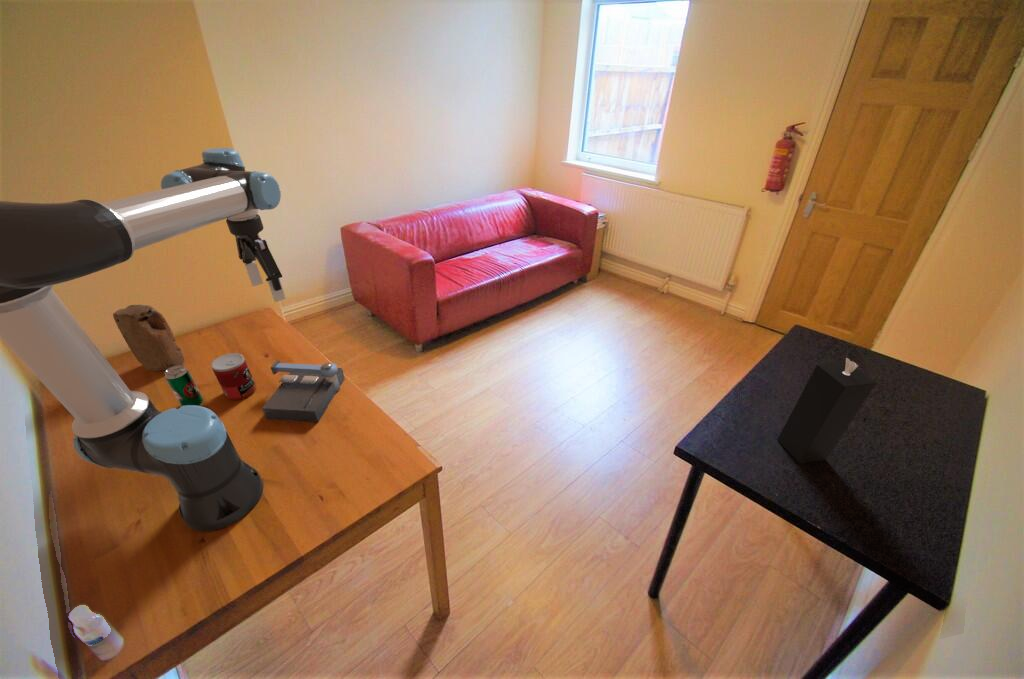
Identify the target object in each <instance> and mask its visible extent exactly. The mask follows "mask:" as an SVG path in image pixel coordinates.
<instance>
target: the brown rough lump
mask: <svg viewBox="0 0 1024 679" xmlns="http://www.w3.org/2000/svg"><path fill="white" fill-rule="evenodd" d="M112 316H113V319H114V322H115V324H116V326H117V328H118V329H119V332H120V334H121V336H122V338H123V339H124V341H125V342H126V345H127V346H128V348H129V350H130V351H131V352H132V354H133V356H134V357H135V358H136V360H137V362H138V363H140V364H141V365H142V366H143V367H144V368H145V369H146V370H148V371H151V372H162V371H166V370H167V369H168V368H170V367H173V366H176V365H182V364H183V363H184V362H185V356H184V354H183V352H182V350H181V348H180V346H179V345H178V343H175V342H176V339H175V335H174V333H173V331H172V329H171V327H170V325H169V323H168V322H167V320H166V318H165V317H164V316H163V314H162V313H160V311H158V310H157V309H156V308H154V307H153V306H151V305H144V304H130V305H128V306H127V307H125V308H121V309H118V310H116V311H114V312H113V314H112Z"/></svg>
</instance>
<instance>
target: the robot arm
mask: <svg viewBox="0 0 1024 679" xmlns="http://www.w3.org/2000/svg"><path fill="white" fill-rule="evenodd" d="M201 158H202V162H203V163H201V164H197V165H194V166H190V167H187V168H182V169H180V170H179V169H176V170H174V171H172V172H169V173H166V174H165V175H164V176H163V177H162V178H161V181H160V188H161V189H157V190H153V191H149V192H146V193H140V194H136V195H131V196H126V197H122V198H118V199H113V200H109V201H105V202H100V201H97V200H94V199H90V198H83V199H78V200H73V201H68V202H54V203H53V202H52V203H49V202H48V203H43V202H42V203H41V202H40V203H39V202H38V203H37V202H19V201H9V200H8V201H7V200H0V340H1V341H3V342H4V344H6V346H7V347H8V348H9V349H10V350H11V351H12V352H13V354H14V355H16V357H17V358H18V359H19V360H20V361H21V362H22V363H23V364H24V365H25V366H26V368H28V370H30V371H31V372H32V374H33V375H34V376H35V377H36V378H37V379H38V380H39V381H40V382H41V383H42V384H43V385H44V386H45V388H46V389H47V390H48V391H49V392H50V393H51V394H52V395H53V396H54V397H55V399H57V400H58V401H59V402H60V404H62V406H63V407H64V408H65V409H67V411H68V412H69V413H70V415H72V417H73V418H74V420H73V422H72V424H71V431H72V432H73V435H75V438H74V439H73V440H72V444H73V448H74V450H75V452H76V453H77V454H78V456H79V457H80V458H82V459H83V460H84V461H86V462H89V464H90V463H91V464H94V465H96V466H99V467H103V468H107V469H117V470H124V471H129V472H135V473H143V474H151V475H153V476H154V475H155V476H161V477H165V478H166V479H167V480H168V481H169V483H170V484H171V486H172V487H173V488H174V489H175V491H176V493H177V494H178V495H177V496H178V497H177V499H178V502H179V507H178V510H179V516H180V518H181V519H182V520H183V523H185V525H186V527H189V529H191V530H192V531H196V532H213V531H217V530H220V529H223V528H227V527H228V526H230V525H233V524H234V523H236V522H239V521H240V520H241V519H242V518H244V517H245V516H246V515H247V514H249V513H250V512H251V511H252V510H253V509H254V508H255V506H256V505H257V504H258V502H259V500H260V499H261V497H262V495H263V491H264V482H263V479H262V477H261V475H260V473H259V472H258V471H257V470H256V469H255V468H254V467H253V466H251V465H250V464H249V463H247V462H245V461H244V460H242V459H241V458H240V455H239V453H238V451H237V450H236V448H235V446H234V444H233V442H232V440H231V438H230V436H229V433H228V432H227V429H226V426H225V424H224V423H223V421H222V420H221V419H220V418H219V417H218V415H217V414H216V413H215V412H214V411H212V410H211V409H210V408H207V407H204V406H201V405H200V406H196V405H187V406H181V405H180V407H179V408H176V407H172V408H169V409H167V410H164V411H162V412H161V411H159V409H157V408H156V406H155V404H153V402H152V401H151V399H149V397H148V395H146V394H145V393H144V392H141V391H136V390H130V389H129V387H128V386H127V384H125V382H124V381H123V379H122V378H121V377H120V376H119V374H118V373H117V371H116V370H115V368H114V367H113V366H112V365H111V363H109V361H108V360H107V358H106V357H105V355H104V354H103V353H102V352H101V351H100V349H99V348H98V346H96V344H95V343H94V341H93V340H92V339H91V337H90V336H89V335H88V334H87V332H86V331H85V330H84V329H83V327H82V326H81V325H80V323H79V322H78V320H77V319H76V318H75V316H74V315H73V314H72V312H70V310H69V309H68V308H67V306H66V305H65V304H64V302H63V301H62V300H61V298H60V297H59V295H58V294H57V293H56V292H55V291H54V289H53V286H54V285H59V284H62V283H66V282H71V281H73V280H76V279H79V278H84V277H86V276H88V275H91V274H94V273H98V272H100V271H103V270H105V269H109V268H112V267H115V266H117V265H120V264H122V263H125V262H127V261H129V260H130V259H132V257H133V256H134V252H135V251H137V250H140V249H142V248H145V247H148V246H151V245H154V244H157V243H160V242H163V241H165V240H166V241H167V240H169V239H171V238H174V237H177V236H179V235H182V234H185V233H188V232H191V231H194V230H197V229H199V228H203V227H205V226H209V225H211V224H214V223H217V222H219V221H223V220H225V223H226V225H227V227H228V230H229V233H230V234H231V235H233V236H234V237H235V241H236V247H237V255H238V258H239V260H241V261H242V264H244V267H245V269H246V271H247V274H248V278H249V280H250V283H251V286H252V287H256V286H259V285H262V284H264V281H263V279H262V276H261V273H260V270H259V268H258V264H257V262H258V263H259V266H260V267H261V269H262V271H263V272H264V274H265V275H266V279H265V282H267V284H268V287H269V290H270V292H271V296H272V298H273V301H274V302H275V303H276V302H280V301H283V300H286V298H287V297H286V296H285V291H284V289H283V285H282V283H281V279H282V277H283V274H282V273H281V271H280V268H279V267H278V264H277V263H276V260H275V259H274V256H273V255H272V252H271V250H270V248H269V244H268V243H267V241H266V239H262V238H261V237H260V236H259V233H260V232H262V231H263V230H264V224H263V221H262V218H261V216H260V215H259V214H258V213H259V211H266V210H270V211H271V210H273V209H275V208H277V207H278V205H279V204H280V202H281V196H282V195H281V190H280V185H279V183H278V181H277V180H276V178H275V177H274V176H272V175H271V174H269V173H266V172H260V171H256V170H254V171H247V170H246V167H245V165H244V163H243V160H242V158H241V156H240V153H239V152H238V151H237V150H236V149H234V148H229V147H217V148H208V149H205V150H203V151H202V152H201ZM256 261H257V262H256ZM280 278H281V279H280Z"/></svg>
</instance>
